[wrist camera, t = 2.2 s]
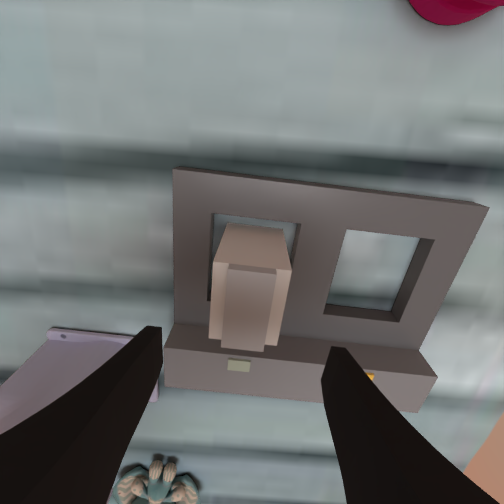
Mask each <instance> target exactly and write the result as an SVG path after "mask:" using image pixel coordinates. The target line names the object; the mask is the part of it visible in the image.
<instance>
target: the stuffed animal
mask: <svg viewBox="0 0 504 504" xmlns="http://www.w3.org/2000/svg"><path fill="white" fill-rule="evenodd" d="M162 469H163V462H161V461H160V460H156V461H153V462H152V464H151V465H150V469H149V471H147V470H144V469H142V467H141V466H139V467H136V468H134V469H132V470H131V471H129V472H127V473H126V474H125V475H124V476H123V477H122V478H121V479H120V480H119V481H118V482H117V483H116V485H115V486H114V487H113V495H114V498H115V500H116V501H117V503H118V504H201V503H200V498H199V494H198V490H197V486H196V485H195V483H194V482H193V480H192V479H191V478H190V477H189V476H188V475H187V474H186V475H185V476H178V477H175V475H176V471H177V468H176V464H174V463H173V462H172V463H167V465H166V466H165V467H164V472H162ZM161 472H162V473H161ZM147 488H148V489H147ZM169 489H170V490H171V492H169Z"/></svg>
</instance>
